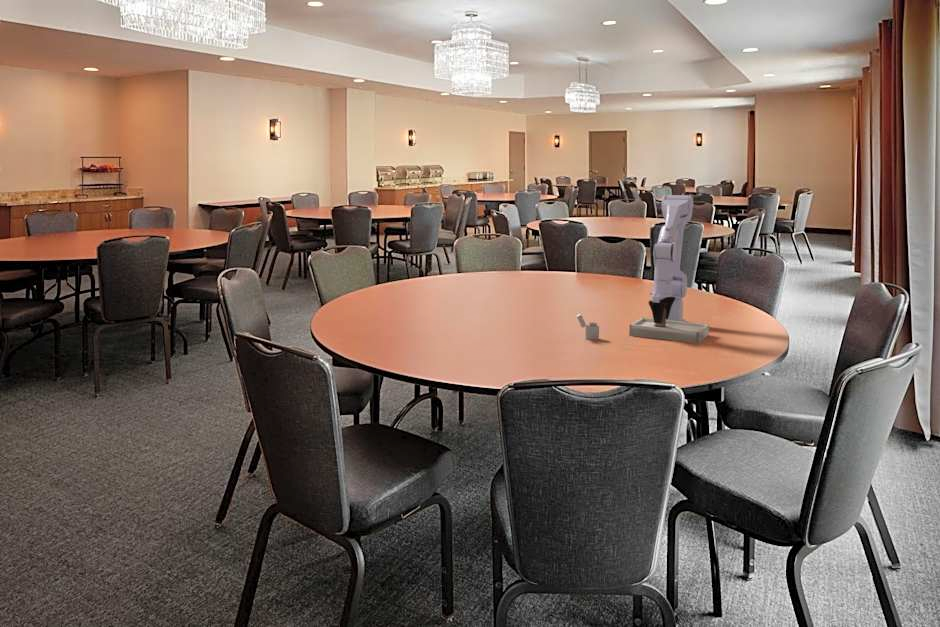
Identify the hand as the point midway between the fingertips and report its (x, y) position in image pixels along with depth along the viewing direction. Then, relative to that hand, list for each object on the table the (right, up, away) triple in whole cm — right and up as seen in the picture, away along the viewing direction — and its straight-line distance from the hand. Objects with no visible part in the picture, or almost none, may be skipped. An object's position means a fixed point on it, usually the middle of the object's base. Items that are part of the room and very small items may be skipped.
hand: (661, 320), depth 235 cm
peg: (0, -4, +1) cm, 4 cm away
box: (+2, -5, -2) cm, 5 cm away
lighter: (-25, -6, -6) cm, 26 cm away
